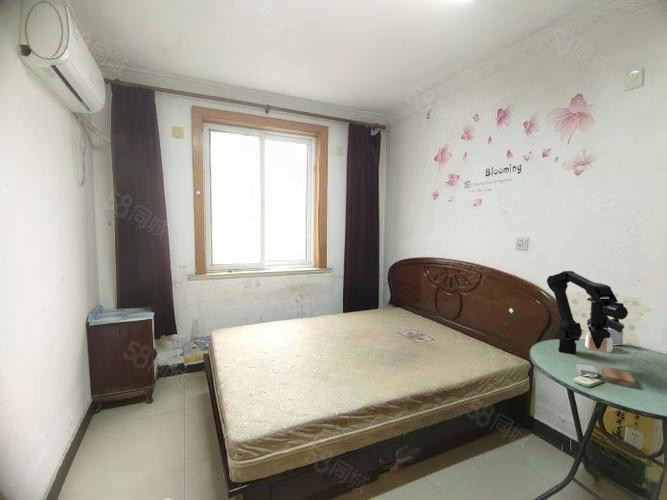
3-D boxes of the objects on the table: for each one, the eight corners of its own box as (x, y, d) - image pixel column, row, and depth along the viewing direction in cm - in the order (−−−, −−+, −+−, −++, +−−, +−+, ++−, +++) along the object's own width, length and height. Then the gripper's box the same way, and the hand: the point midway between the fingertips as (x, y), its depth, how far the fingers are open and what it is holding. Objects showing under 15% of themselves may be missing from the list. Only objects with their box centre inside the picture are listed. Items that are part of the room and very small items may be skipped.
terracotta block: (589, 349, 140) (589, 336, 140) (587, 345, 145) (588, 332, 145) (606, 352, 137) (607, 339, 136) (604, 348, 142) (605, 335, 141)
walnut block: (604, 382, 129) (605, 375, 128) (601, 373, 136) (602, 367, 136) (634, 389, 124) (634, 381, 123) (629, 379, 131) (630, 372, 131)
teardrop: (618, 352, 156) (620, 329, 155) (593, 351, 157) (595, 328, 156) (603, 343, 167) (604, 322, 165) (580, 343, 168) (581, 321, 167)
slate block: (580, 376, 134) (580, 369, 134) (575, 370, 139) (576, 363, 139) (597, 379, 131) (598, 372, 131) (592, 372, 137) (593, 366, 137)
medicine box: (617, 343, 167) (618, 327, 166) (622, 346, 163) (623, 330, 162) (599, 341, 169) (600, 326, 169) (603, 344, 165) (604, 329, 164)
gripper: (627, 321, 127) (625, 357, 129) (619, 310, 143) (616, 342, 144) (592, 317, 134) (590, 351, 135) (587, 306, 149) (586, 338, 150)
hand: (596, 346), depth 141 cm, fingers closed on terracotta block, 6 cm apart
